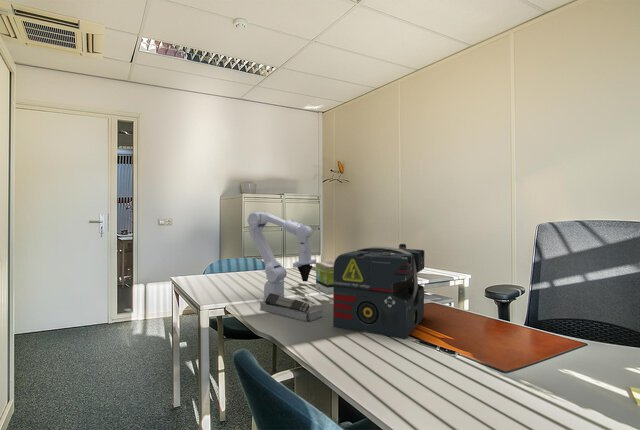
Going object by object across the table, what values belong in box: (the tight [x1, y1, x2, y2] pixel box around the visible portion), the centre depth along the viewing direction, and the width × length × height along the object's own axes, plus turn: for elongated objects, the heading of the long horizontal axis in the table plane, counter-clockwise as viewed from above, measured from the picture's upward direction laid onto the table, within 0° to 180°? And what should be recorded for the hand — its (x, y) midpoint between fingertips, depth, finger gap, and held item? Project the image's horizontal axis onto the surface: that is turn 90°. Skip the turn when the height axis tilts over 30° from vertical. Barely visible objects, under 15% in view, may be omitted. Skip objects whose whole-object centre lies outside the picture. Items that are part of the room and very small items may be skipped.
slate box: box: [259, 300, 323, 322], centre depth 153 cm, size 28×9×3 cm, turn 52°
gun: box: [264, 293, 310, 313], centre depth 155 cm, size 4×20×10 cm
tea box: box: [315, 261, 334, 295], centre depth 194 cm, size 15×10×15 cm, turn 25°
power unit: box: [332, 243, 425, 340], centre depth 141 cm, size 28×28×30 cm
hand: (304, 281), depth 168 cm, fingers closed
